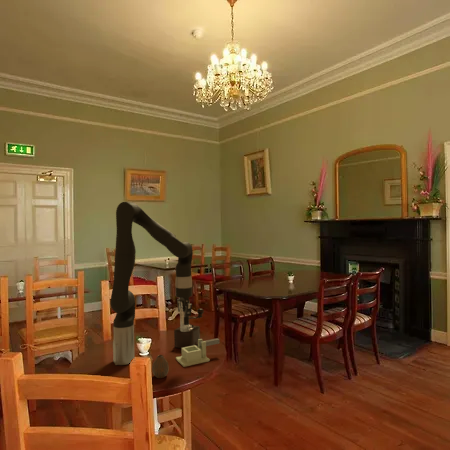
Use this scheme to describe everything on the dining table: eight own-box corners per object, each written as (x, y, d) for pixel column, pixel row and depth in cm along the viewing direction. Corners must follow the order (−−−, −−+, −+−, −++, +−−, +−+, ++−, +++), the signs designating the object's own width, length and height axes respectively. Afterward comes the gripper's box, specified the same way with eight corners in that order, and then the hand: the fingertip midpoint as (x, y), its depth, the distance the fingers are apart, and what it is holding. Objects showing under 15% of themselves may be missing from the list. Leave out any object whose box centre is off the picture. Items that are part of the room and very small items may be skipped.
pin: (200, 347, 170) (200, 343, 170) (199, 345, 172) (198, 341, 172) (219, 343, 175) (219, 339, 175) (217, 342, 177) (217, 338, 177)
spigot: (182, 332, 161) (181, 310, 161) (179, 330, 164) (178, 308, 164) (190, 330, 163) (190, 309, 162) (187, 328, 166) (186, 307, 166)
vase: (169, 372, 157) (169, 352, 156) (167, 379, 150) (167, 358, 150) (153, 373, 156) (153, 353, 156) (151, 380, 150) (150, 359, 149)
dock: (183, 366, 162) (183, 348, 162) (175, 359, 171) (175, 341, 171) (209, 361, 168) (209, 343, 168) (200, 354, 177) (200, 337, 177)
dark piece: (192, 350, 182) (192, 315, 182) (173, 347, 187) (173, 313, 186) (205, 340, 197) (205, 307, 196) (188, 338, 201) (187, 306, 201)
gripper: (197, 287, 158) (198, 326, 159) (186, 282, 171) (186, 318, 171) (181, 289, 155) (182, 328, 155) (171, 284, 168) (171, 320, 168)
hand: (184, 323), depth 163 cm, fingers closed on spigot, 4 cm apart
